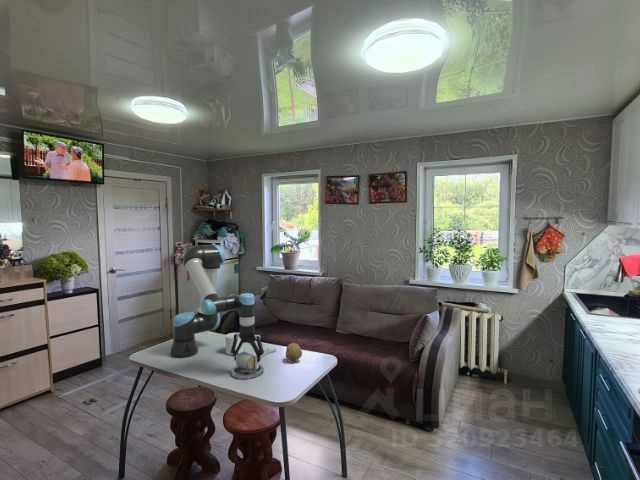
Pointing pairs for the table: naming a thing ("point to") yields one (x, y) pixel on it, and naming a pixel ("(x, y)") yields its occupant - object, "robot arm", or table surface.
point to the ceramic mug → (246, 360)
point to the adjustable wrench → (267, 352)
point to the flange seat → (246, 372)
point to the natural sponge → (293, 352)
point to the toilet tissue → (230, 342)
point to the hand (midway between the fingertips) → (247, 367)
